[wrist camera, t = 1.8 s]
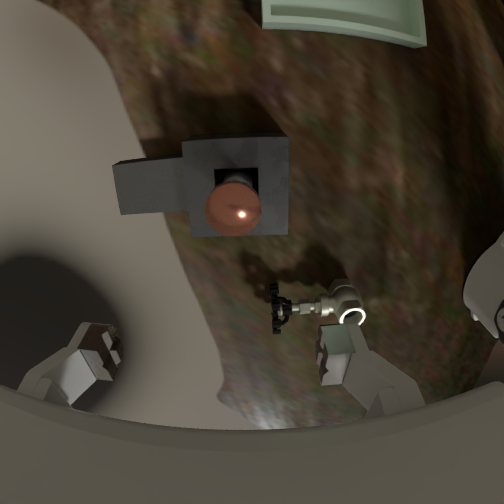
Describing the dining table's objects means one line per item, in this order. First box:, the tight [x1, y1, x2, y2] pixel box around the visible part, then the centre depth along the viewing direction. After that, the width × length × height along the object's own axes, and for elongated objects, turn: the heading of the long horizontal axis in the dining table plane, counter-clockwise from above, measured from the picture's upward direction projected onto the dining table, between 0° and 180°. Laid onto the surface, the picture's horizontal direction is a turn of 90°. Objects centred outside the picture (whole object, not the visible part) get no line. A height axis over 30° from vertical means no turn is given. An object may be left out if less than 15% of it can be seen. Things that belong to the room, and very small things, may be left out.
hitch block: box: [112, 132, 289, 237], centre depth 30 cm, size 19×10×5 cm, turn 92°
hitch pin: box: [205, 168, 261, 236], centre depth 28 cm, size 4×4×11 cm
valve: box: [270, 278, 366, 334], centre depth 37 cm, size 7×7×12 cm
